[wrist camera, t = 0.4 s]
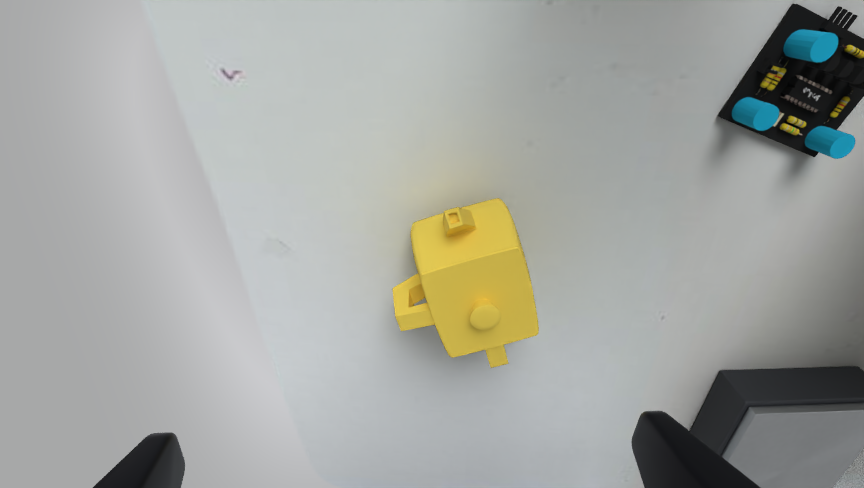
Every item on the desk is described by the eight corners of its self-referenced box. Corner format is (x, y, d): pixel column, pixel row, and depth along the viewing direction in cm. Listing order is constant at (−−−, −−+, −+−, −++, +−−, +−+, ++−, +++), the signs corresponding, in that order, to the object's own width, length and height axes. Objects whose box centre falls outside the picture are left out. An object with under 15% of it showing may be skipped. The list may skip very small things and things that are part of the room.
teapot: (363, 190, 21) (358, 255, 16) (494, 151, 20) (525, 207, 16) (417, 325, 25) (424, 406, 21) (527, 295, 24) (558, 371, 20)
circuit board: (941, 50, 18) (840, 169, 20) (899, 42, 19) (809, 154, 22) (838, -7, 17) (743, 128, 19) (801, -11, 18) (717, 115, 20)
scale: (780, 478, 35) (811, 520, 33) (662, 484, 34) (685, 527, 32) (858, 365, 30) (903, 405, 27) (719, 369, 29) (752, 411, 26)
